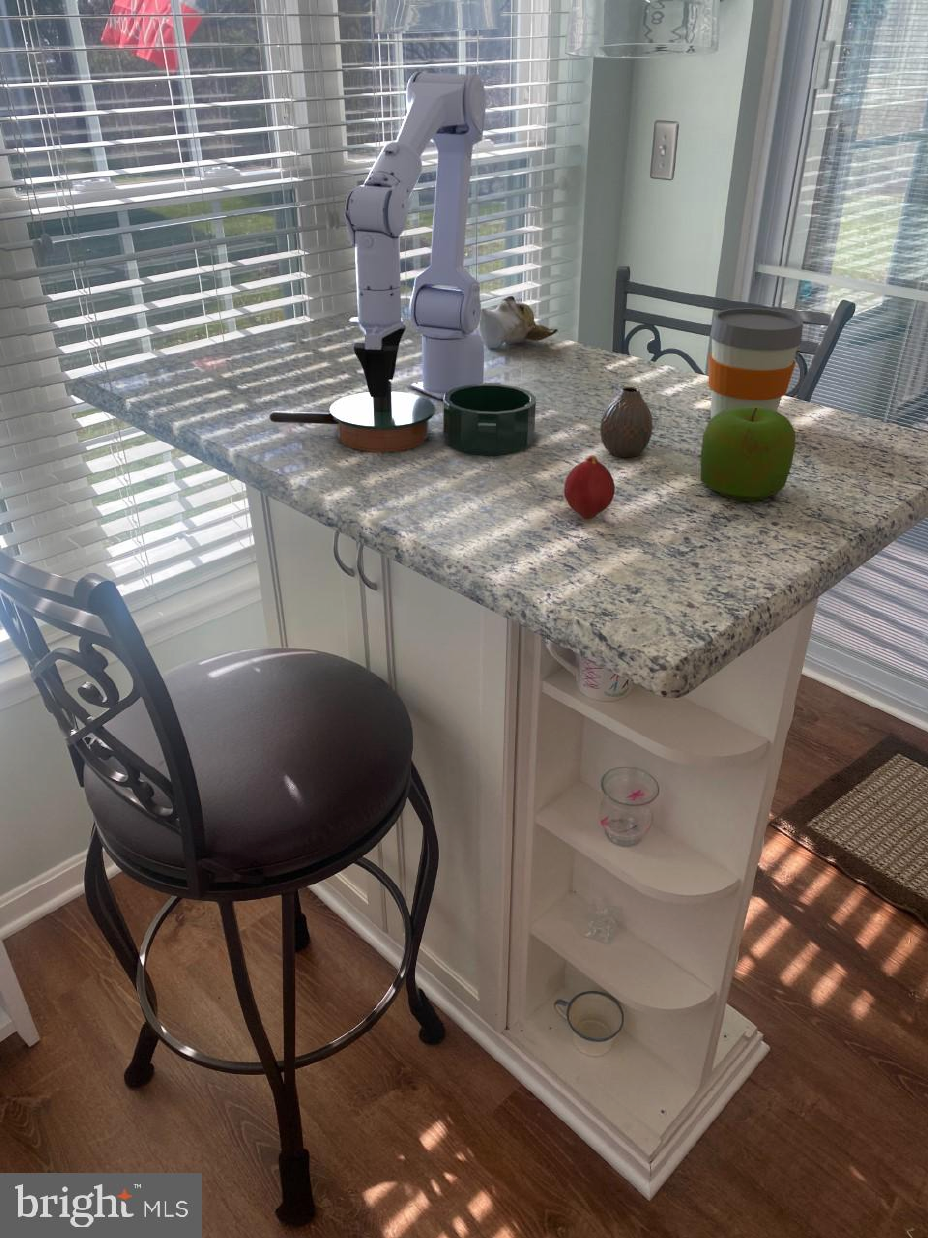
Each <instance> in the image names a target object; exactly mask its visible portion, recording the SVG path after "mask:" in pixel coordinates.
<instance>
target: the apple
mask: <svg viewBox="0 0 928 1238" xmlns="http://www.w3.org/2000/svg"><path fill="white" fill-rule="evenodd" d="M795 450H796V430H795V428H794V427H793V425H792V423H791V422H790V421H789V419H788V418H787V417H786V416H785V415H783V414H782V413H781V412H779V411H777V412H776V411H774V410H772V409H769V408H764V407H759V406H741V407H735V408H730V409H727V410H724V411H721V412H720V413H718V414H717V415H715V416H714V417H713V418H712V419H711V418H710V420H709V421H708V423H707V425H706V427H705V430H704V432H703V434H702V441H701V448H700V481H701V482H702V483H703V484H704V485H705V486H706V487H708V489H711V490H713V491H714V492H716V493H718V494H719V495H721V496H724V497H726V498H728V499H730V500H731V499H732V500H735V501H739V502H747V503H749V502H757V501H761V500H765V499H767V498H769V497H771V496H772V495H775V494H777V493H779V492H781V490H782V489H783V488H784V487H785V486H786V483H787V480H788V478H789V474H790V471H791V468H792V463H793V460H794V454H795Z"/></svg>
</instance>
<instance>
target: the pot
mask: <svg viewBox="0 0 928 1238" xmlns="http://www.w3.org/2000/svg"><path fill="white" fill-rule="evenodd" d="M442 400H443V402H442V403H443V405H442V408H443V409H442V411H443V413H442V414H443V415H442V417H443V418H442V419H443V423H442V424H443V425H442V426H443V428H442V430H443V431H442V432H443V434H442V435H443V440H444V443H445V444H446V445H447V446H448V447H450V448H451V449H454V450H456V451H458V452H462V453H465V454H471V455H477V456H505V455H506V456H507V455H512V454H517V453H521V452H523V451H526V450H527V449H529V448H530V447H531V446H532V445H533V444H534V442H535V430H536V429H535V428H536V427H535V426H536V408H537V407H536V405H537V397H536V396H535V394H533V393H532V392H531V391H529V390H527V389H524V388H521V387H518V386H513V385H507V384H501V382H483V384H475V385H466V386H462V387H458V388H454V389H452V390H450V391H449V392H447V393H446V394H445V396H444V399H442Z"/></svg>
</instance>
